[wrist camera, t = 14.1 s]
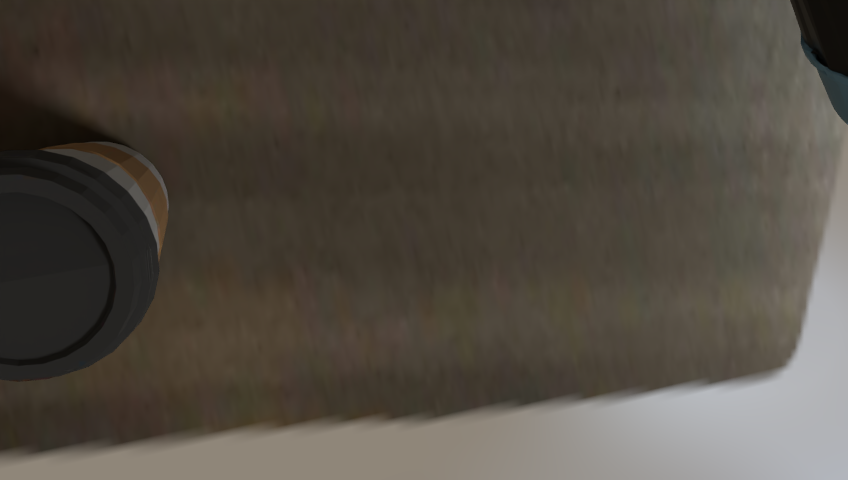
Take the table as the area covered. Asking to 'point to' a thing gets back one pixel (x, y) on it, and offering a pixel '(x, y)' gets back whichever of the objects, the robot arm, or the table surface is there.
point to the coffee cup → (75, 254)
